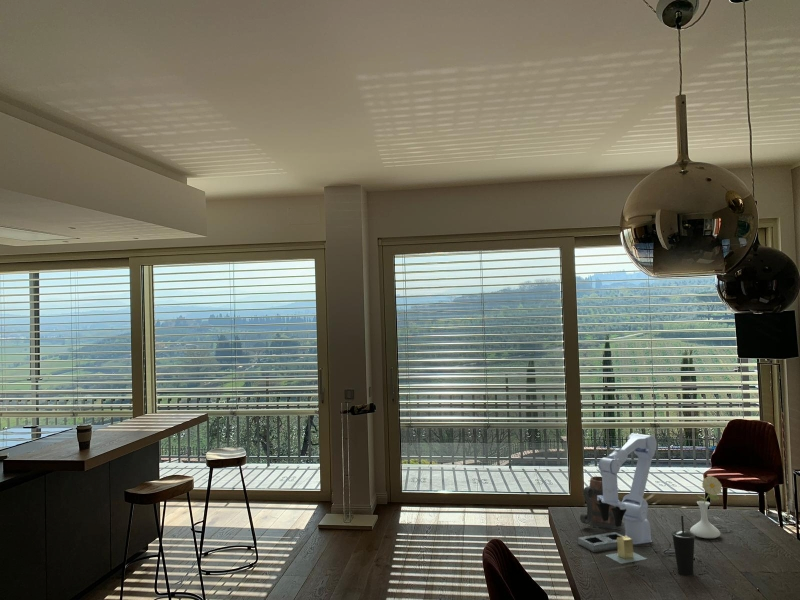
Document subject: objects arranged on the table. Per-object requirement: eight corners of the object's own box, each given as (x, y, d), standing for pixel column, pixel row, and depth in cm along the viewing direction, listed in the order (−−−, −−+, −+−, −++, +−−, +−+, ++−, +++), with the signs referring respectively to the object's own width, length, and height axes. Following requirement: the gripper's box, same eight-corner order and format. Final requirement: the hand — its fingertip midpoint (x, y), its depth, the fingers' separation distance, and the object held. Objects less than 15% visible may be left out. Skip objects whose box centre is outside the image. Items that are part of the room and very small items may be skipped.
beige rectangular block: (626, 554, 224) (625, 535, 225) (633, 558, 220) (632, 539, 221) (617, 555, 223) (616, 537, 223) (624, 559, 219) (623, 540, 220)
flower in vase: (691, 539, 240) (687, 477, 242) (689, 530, 251) (685, 471, 252) (727, 542, 235) (723, 479, 237) (723, 533, 246) (719, 473, 247)
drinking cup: (688, 579, 202) (684, 520, 203) (669, 571, 208) (665, 514, 210) (702, 574, 205) (698, 516, 206) (683, 567, 212) (679, 511, 213)
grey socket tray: (615, 539, 243) (614, 531, 243) (631, 547, 233) (631, 539, 233) (578, 545, 237) (577, 537, 237) (593, 553, 228) (593, 545, 228)
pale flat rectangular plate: (630, 552, 228) (630, 550, 228) (647, 560, 219) (647, 558, 219) (605, 556, 224) (605, 555, 224) (621, 565, 215) (620, 563, 215)
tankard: (600, 515, 275) (598, 472, 276) (632, 524, 261) (629, 479, 262) (567, 525, 262) (565, 480, 264) (598, 535, 248) (596, 487, 249)
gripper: (590, 485, 238) (591, 519, 237) (614, 494, 224) (615, 530, 223) (604, 483, 240) (606, 517, 239) (629, 492, 227) (630, 527, 226)
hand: (611, 523), depth 232 cm, fingers open, 7 cm apart
